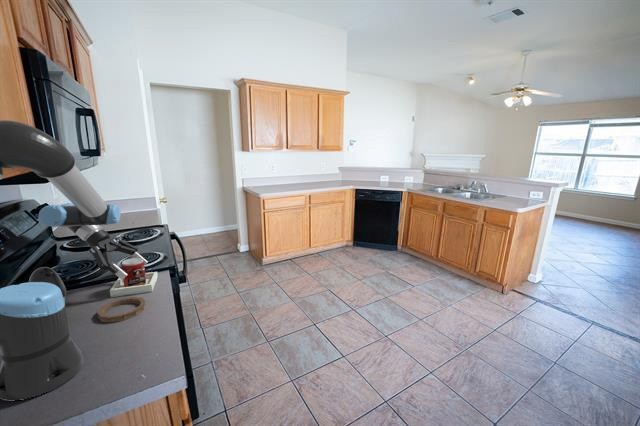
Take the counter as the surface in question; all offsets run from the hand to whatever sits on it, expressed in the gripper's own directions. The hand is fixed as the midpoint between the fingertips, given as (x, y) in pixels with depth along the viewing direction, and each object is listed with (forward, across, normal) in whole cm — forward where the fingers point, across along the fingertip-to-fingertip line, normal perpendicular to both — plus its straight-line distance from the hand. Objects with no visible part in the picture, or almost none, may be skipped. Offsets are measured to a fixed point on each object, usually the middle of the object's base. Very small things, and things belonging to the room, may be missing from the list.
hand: (135, 270), depth 115 cm
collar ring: (+10, +19, -1) cm, 21 cm away
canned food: (+4, 0, -5) cm, 7 cm away
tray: (+5, 0, -6) cm, 7 cm away
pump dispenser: (-10, +16, -20) cm, 28 cm away
